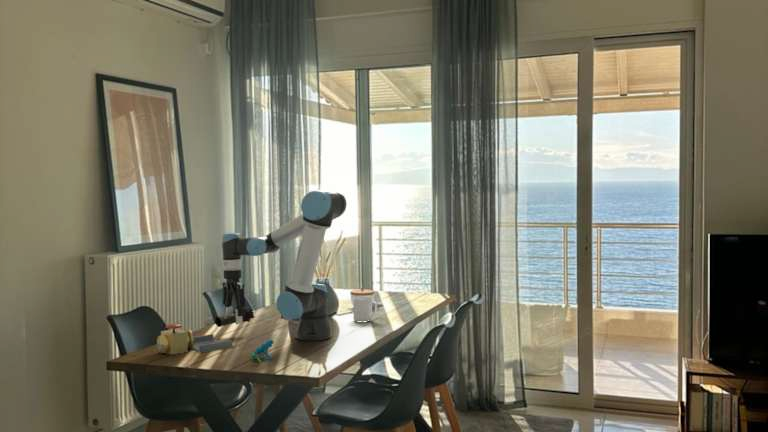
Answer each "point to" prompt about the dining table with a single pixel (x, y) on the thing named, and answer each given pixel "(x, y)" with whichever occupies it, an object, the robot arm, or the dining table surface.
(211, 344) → the blue-grey u-shaped block
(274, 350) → the dining table surface
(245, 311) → the dark brown elongated piece
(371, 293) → the lidded bowl
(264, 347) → the blue green toy
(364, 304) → the mug
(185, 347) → the brass valve
